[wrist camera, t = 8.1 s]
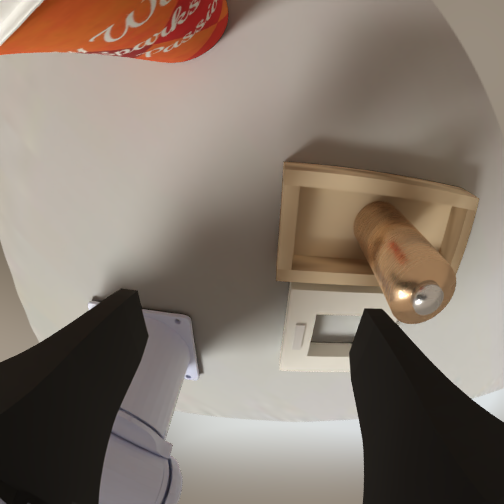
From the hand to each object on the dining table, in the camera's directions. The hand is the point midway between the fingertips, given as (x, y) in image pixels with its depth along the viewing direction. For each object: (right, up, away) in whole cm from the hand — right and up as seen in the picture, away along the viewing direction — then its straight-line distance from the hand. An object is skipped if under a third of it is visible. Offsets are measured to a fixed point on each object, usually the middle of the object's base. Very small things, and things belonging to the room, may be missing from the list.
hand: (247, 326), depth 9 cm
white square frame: (+7, -3, +12) cm, 14 cm away
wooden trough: (+8, +4, +8) cm, 12 cm away
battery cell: (+8, +4, +7) cm, 11 cm away
